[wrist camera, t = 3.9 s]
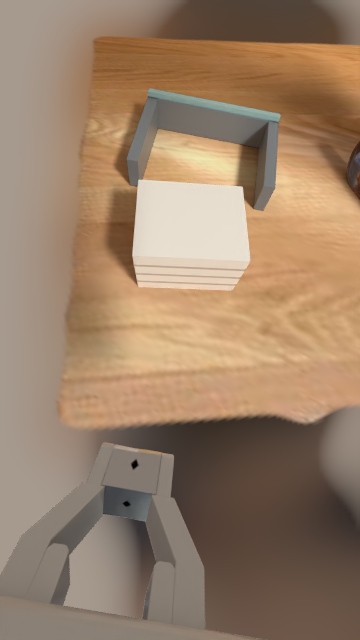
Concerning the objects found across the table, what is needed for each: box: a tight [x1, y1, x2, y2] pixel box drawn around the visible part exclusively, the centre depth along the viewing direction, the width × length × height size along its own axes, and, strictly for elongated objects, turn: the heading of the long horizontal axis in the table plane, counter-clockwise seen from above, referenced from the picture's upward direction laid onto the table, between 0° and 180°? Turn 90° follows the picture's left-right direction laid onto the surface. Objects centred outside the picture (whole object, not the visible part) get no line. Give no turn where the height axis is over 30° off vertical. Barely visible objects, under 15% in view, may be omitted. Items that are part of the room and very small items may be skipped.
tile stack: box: [132, 180, 250, 290], centre depth 30 cm, size 12×10×7 cm
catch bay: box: [126, 88, 281, 211], centre depth 36 cm, size 20×14×5 cm
